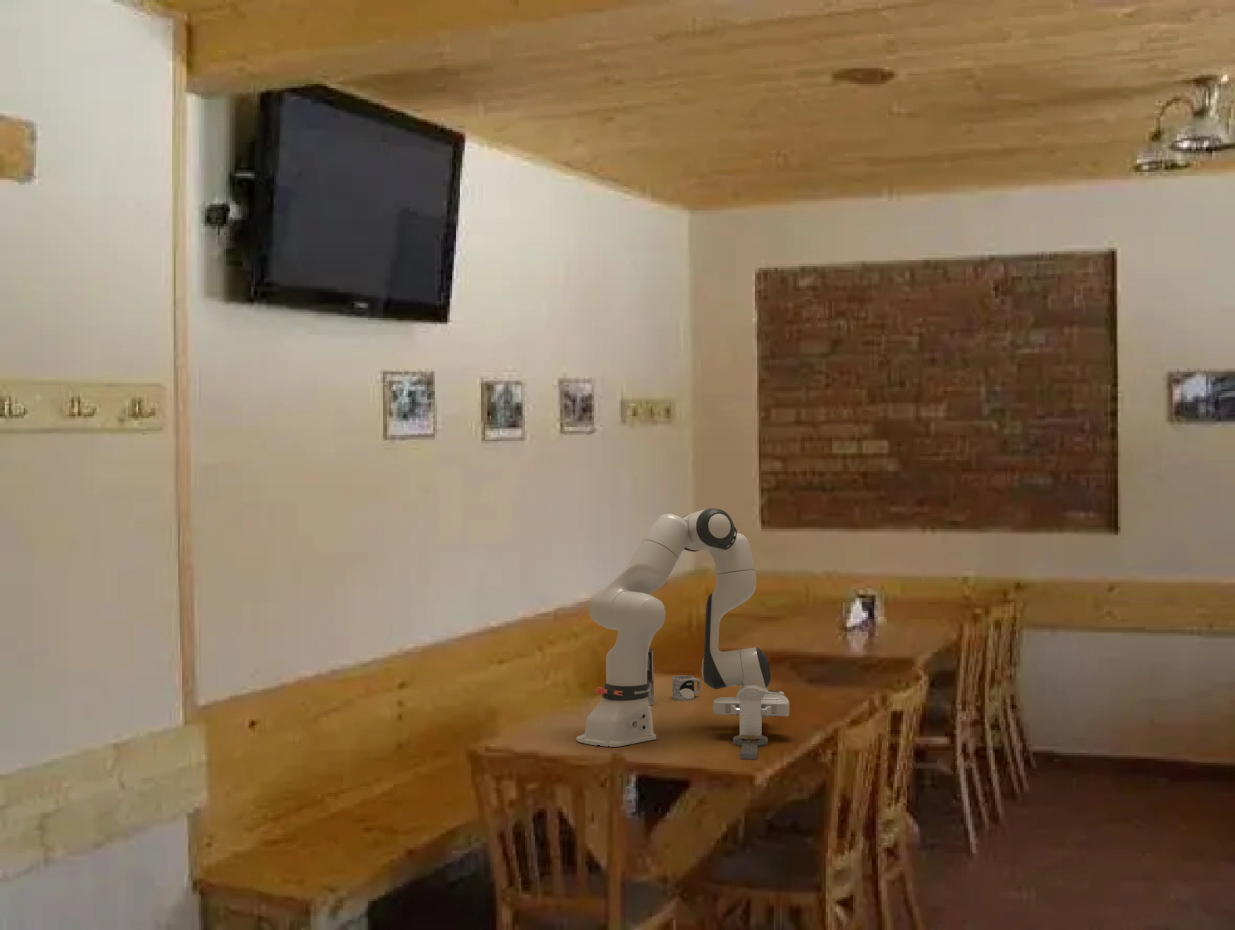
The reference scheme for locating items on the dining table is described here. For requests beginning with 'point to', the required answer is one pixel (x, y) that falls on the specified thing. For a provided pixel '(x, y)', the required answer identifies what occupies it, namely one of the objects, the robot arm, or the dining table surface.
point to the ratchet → (749, 745)
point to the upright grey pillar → (750, 713)
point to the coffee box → (650, 677)
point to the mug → (684, 687)
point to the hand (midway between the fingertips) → (750, 712)
